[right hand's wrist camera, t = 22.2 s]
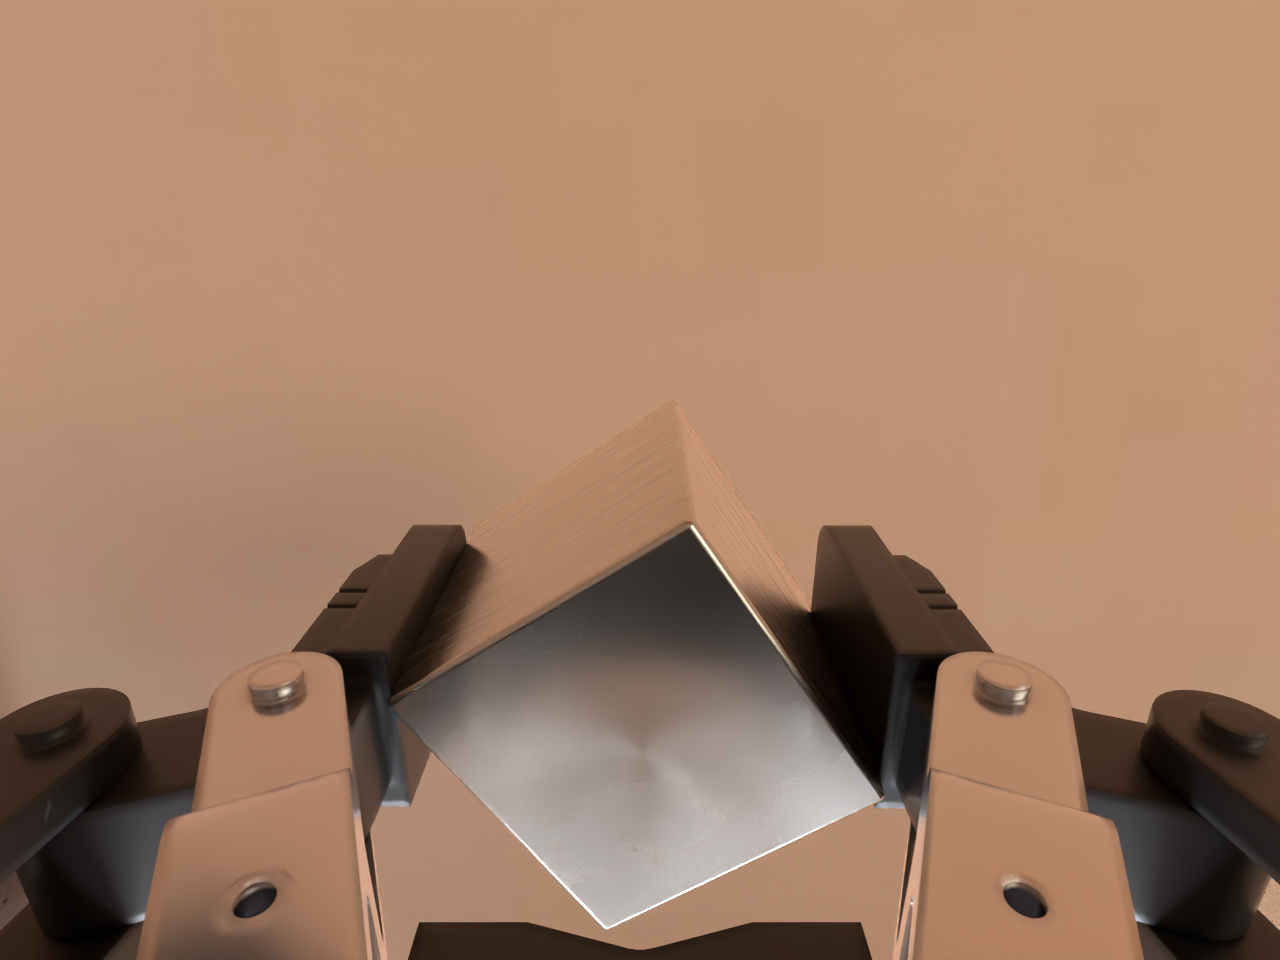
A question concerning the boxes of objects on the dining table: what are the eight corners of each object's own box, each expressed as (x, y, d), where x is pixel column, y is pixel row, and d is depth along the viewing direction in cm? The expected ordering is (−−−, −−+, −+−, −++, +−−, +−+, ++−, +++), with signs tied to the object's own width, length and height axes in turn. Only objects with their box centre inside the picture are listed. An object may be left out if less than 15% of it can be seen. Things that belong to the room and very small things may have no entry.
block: (672, 397, 11) (691, 519, 7) (805, 596, 13) (889, 800, 8) (473, 526, 12) (380, 704, 8) (616, 699, 14) (604, 935, 9)
